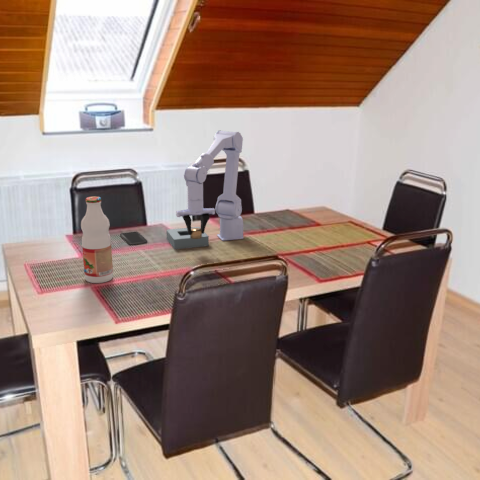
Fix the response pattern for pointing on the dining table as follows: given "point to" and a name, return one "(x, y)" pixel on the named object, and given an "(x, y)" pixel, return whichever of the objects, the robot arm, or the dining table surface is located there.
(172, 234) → the box
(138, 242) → the phone
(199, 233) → the disc
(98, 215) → the fruit juice
